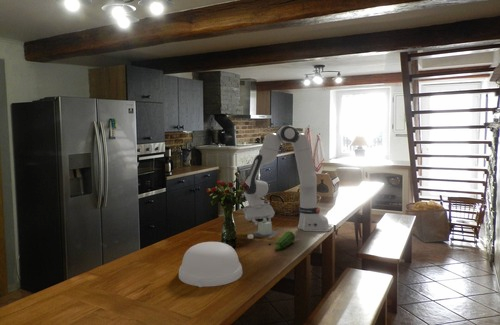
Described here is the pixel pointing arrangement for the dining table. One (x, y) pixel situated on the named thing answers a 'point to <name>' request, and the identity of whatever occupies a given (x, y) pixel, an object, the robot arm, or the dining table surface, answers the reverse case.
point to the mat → (265, 235)
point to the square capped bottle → (264, 227)
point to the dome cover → (210, 265)
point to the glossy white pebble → (250, 236)
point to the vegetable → (285, 240)
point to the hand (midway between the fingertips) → (263, 223)
